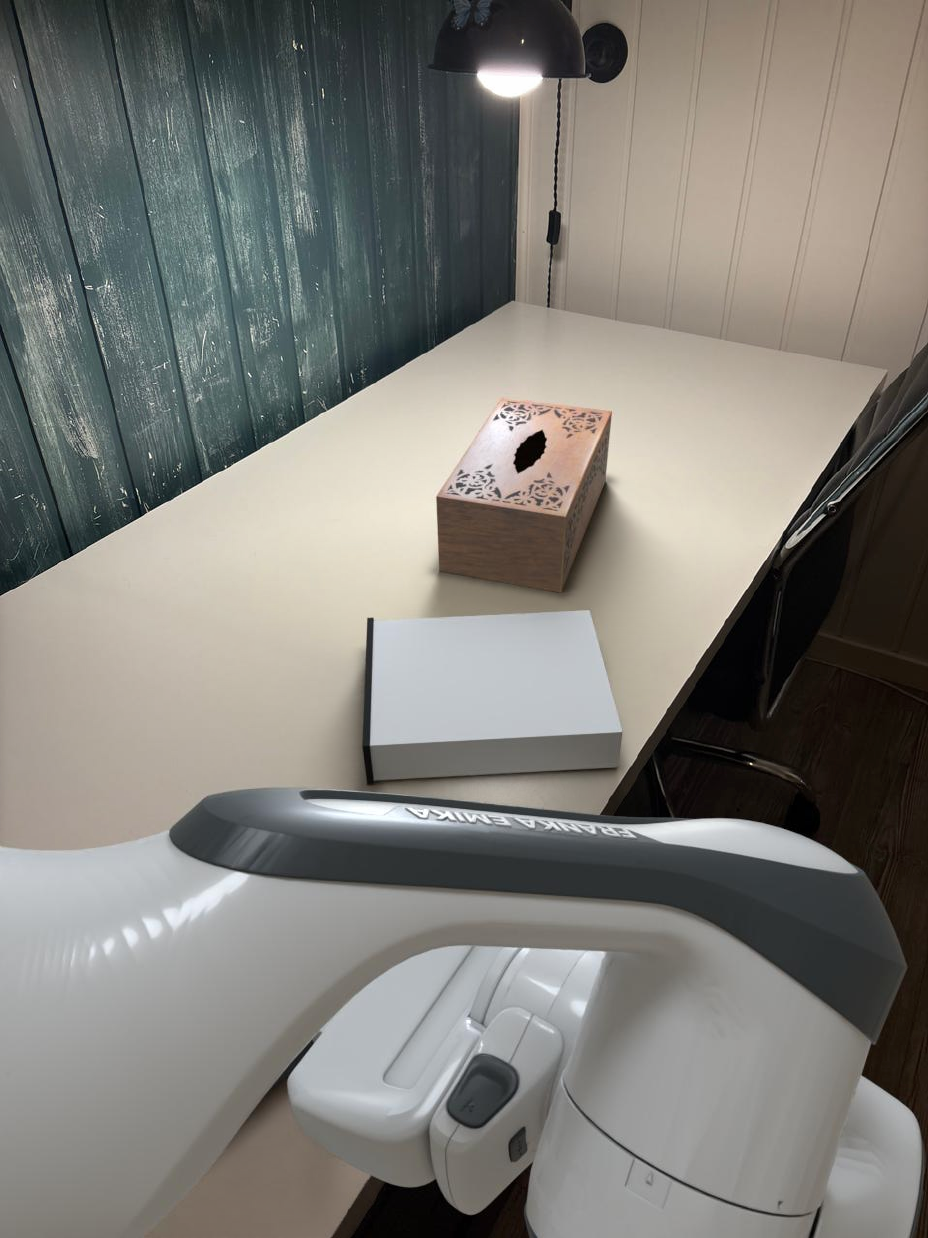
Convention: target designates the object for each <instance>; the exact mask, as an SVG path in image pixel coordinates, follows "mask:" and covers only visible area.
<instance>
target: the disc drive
mask: <svg viewBox="0 0 928 1238" xmlns="http://www.w3.org/2000/svg"><path fill="white" fill-rule="evenodd" d="M365 639H366V640H365V641H366V642H365V664H364V666H365V668H364V689H363V690H364V691H363V713H362V714H363V715H362V716H363V717H362V720H363V721H362V740H361V741H362V743H361V747H362V754H363V755H362V756H363V763H364V771H365V778H366V785H375V781H389V780H391V781H392V780H407V779H410V780H411V779H424V778H427V779H428V778H443V777H444V778H445V777H463V776H465V777H466V776H481V775H483V776H484V775H498V774H500V775H501V774H518V773H537V772H552V771H553V772H554V771H571V770H572V771H573V770H574V771H575V770H591V769H607V768H608V769H611V768H619V763H620V756H621V746H622V741H623V729H622V724H621V721H620V718H619V714H618V710H617V706H616V702H615V698H614V695H613V692H612V688H611V684H610V680H609V676H608V673H607V669H606V666H605V661H604V658H603V654H602V651H601V647H600V643H599V640H598V636H597V632H596V628H595V625H594V621H593V616H592V614H591V610H590V609H586V610H564V611H545V612H525V613H522V612H521V613H502V614H482V615H464V616H463V615H462V616H443V617H442V616H440V617H439V616H438V617H421V618H419V617H418V618H400V619H398V618H397V619H382V620H381V619H380V620H378V619H377V620H375V619H374V617H367V618H366V637H365Z"/></svg>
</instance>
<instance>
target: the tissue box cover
mask: <svg viewBox="0 0 928 1238" xmlns="http://www.w3.org/2000/svg"><path fill="white" fill-rule="evenodd" d="M612 414H613V411H612V410H606V409H605V410H603V409H596V408H589V407H581V406H573V405H566V404H557V403H550V402H542V401H534V400H527V399H526V400H525V399H517V398H511V397H502V396H501V398H500V399H499V401H498V402H497V404H496V405H495V407H494V408H493V410H492V411H491V413H490V414H489V416H488V418H486V421H485V422H484V423H483V425H482V427H481V428H480V430H479V431H478V432H477V434H476V436H475V437H474V439H473V440H472V442H471V443H470V445H469V446H468V447H467V449H466V450H465V452H464V454H463V455H462V457H461V458H460V460H459V462H458V463H457V464H456V465H455V467H454V469H453V470H452V471H451V473H450V475H449V477H447V479H446V481H445V482H444V484H443V485H442V487H441V489H440V490H439V491H438V493H437V495H436V496H435V499H436V502H435V503H436V524H437V525H436V526H437V550H438V554H437V555H438V571H439V572H443V573H449V574H453V575H459V576H465V577H471V578H476V579H482V580H487V581H493V582H498V583H503V584H504V583H505V584H510V585H515V586H522V587H527V588H533V589H538V590H544V591H548V592H555V593H562V591H563V589H564V586H565V583H566V582H567V579H568V576H569V574H570V571H571V568H572V566H573V564H574V561H575V558H576V556H577V553H578V551H579V549H580V546H581V544H582V541H583V539H584V536H585V533H586V531H587V528H588V525H589V524H590V521H591V518H592V516H593V514H594V511H595V509H596V505H597V503H598V501H599V498H600V496H601V493H602V491H603V488H604V486H605V483H606V480H607V469H608V468H607V467H608V457H609V447H610V437H611V426H612V425H611V424H612V416H613V415H612Z"/></svg>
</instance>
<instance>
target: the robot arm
mask: <svg viewBox="0 0 928 1238" xmlns="http://www.w3.org/2000/svg"><path fill="white" fill-rule="evenodd" d="M899 941H900V940H899V939H898V936H897V934H896V931H895V929H894V926H893V924H892V922H891V920H890V917H889V915H888V913H887V911H886V908H885V906H884V904H883V902H882V900H881V898H880V896H879V894H878V893H877V891H876V889H875V887H874V886H873V883H872V882H871V881H870V879H869V878H868V875H867V874H866V872H865V871H864V869H862V868H860V867H859V866H858V865H855V864H853V863H851V862H849V861H847V860H846V859H845V858H843V857H842V856H841V855H839V854H838V853H836V852H835V851H833V850H832V849H830V848H828V847H827V846H825V845H823V844H821V843H819V842H817V841H815V840H813V839H811V838H809V837H806V836H804V835H802V834H800V833H796V832H795V831H794V832H793V831H791V830H788V829H784V828H782V827H780V826H775V825H771V824H767V823H764V822H759V821H753V820H747V819H741V818H724V817H715V818H711V817H710V818H695V819H694V818H686V817H685V818H684V817H634V816H629V817H628V816H617V815H616V816H615V815H604V814H595V813H594V814H593V813H585V812H575V811H565V810H557V809H547V808H537V807H528V806H517V805H508V804H499V803H489V802H482V801H481V802H480V801H470V800H462V799H451V798H443V797H442V798H441V797H433V796H432V797H431V796H420V795H411V794H410V795H409V794H398V793H385V792H373V791H372V792H371V791H359V790H347V789H334V788H333V789H331V788H315V787H255V788H245V789H235V790H229V791H224V792H217V793H212V794H209V795H206V796H204V798H202V799H201V800H200V801H199V802H198V803H197V804H196V805H195V806H193V807H192V808H191V809H190V810H189V811H188V812H187V813H185V814H184V815H183V817H181V818H180V819H179V820H178V821H176V822H175V824H173V825H172V826H171V827H170V828H169V829H166V830H164V831H161V832H158V833H154V834H151V835H148V836H144V837H141V838H137V839H133V840H129V841H124V842H120V843H115V844H109V845H105V846H97V847H90V848H80V849H79V848H78V849H53V850H52V849H25V848H17V847H11V846H10V847H7V846H3V845H0V1238H144V1236H146V1235H147V1234H148V1233H150V1231H152V1230H154V1228H155V1227H156V1226H158V1224H160V1223H161V1222H162V1221H163V1220H164V1219H165V1218H167V1216H168V1215H170V1214H171V1212H172V1211H174V1210H175V1208H176V1207H177V1206H178V1205H179V1204H180V1203H181V1202H182V1201H183V1200H184V1199H185V1198H186V1197H187V1196H188V1195H189V1194H190V1193H191V1192H192V1190H193V1189H195V1187H196V1186H197V1185H198V1184H199V1183H200V1181H202V1180H203V1178H204V1177H205V1176H206V1174H207V1173H208V1172H209V1171H210V1170H211V1169H212V1167H213V1166H214V1165H215V1164H216V1163H217V1160H219V1158H220V1157H221V1156H222V1154H223V1153H224V1151H225V1150H226V1149H227V1147H228V1145H229V1144H230V1143H231V1142H232V1140H233V1139H234V1138H235V1136H236V1135H237V1133H238V1132H239V1130H240V1129H241V1128H242V1126H243V1125H244V1124H245V1122H247V1119H248V1118H249V1117H250V1116H251V1114H252V1113H253V1111H254V1110H255V1109H256V1108H257V1107H258V1105H259V1104H260V1102H261V1101H262V1099H263V1098H264V1097H265V1096H266V1094H268V1092H269V1091H268V1090H269V1089H270V1088H271V1087H272V1085H273V1084H274V1083H275V1082H276V1081H277V1079H278V1078H279V1077H280V1076H281V1074H282V1073H283V1072H284V1071H285V1069H286V1068H287V1067H288V1066H289V1064H290V1063H291V1062H292V1061H293V1060H294V1059H295V1058H296V1056H297V1055H298V1054H299V1053H300V1052H301V1051H302V1050H303V1049H304V1048H305V1046H306V1045H307V1044H308V1043H309V1042H310V1041H311V1040H313V1042H314V1044H313V1045H312V1047H311V1048H310V1049H309V1051H308V1052H307V1053H306V1055H305V1056H304V1057H303V1058H302V1060H301V1061H300V1062H299V1064H298V1065H297V1066H296V1067H295V1069H294V1070H293V1071H292V1073H291V1074H290V1075H289V1076H288V1077H287V1080H286V1087H287V1088H286V1089H287V1096H288V1097H287V1098H288V1102H289V1107H290V1111H291V1115H292V1118H293V1119H294V1121H295V1124H296V1125H297V1127H298V1129H299V1130H300V1132H301V1133H302V1134H303V1135H304V1136H305V1137H306V1138H307V1139H308V1140H309V1141H311V1142H312V1143H313V1144H315V1145H317V1146H318V1147H319V1148H321V1149H322V1150H323V1151H326V1152H327V1153H329V1154H330V1155H332V1156H334V1157H335V1158H337V1159H339V1160H340V1161H342V1162H344V1163H346V1164H348V1165H350V1166H351V1167H353V1168H355V1169H357V1170H359V1171H361V1172H363V1173H365V1174H368V1175H369V1176H371V1177H373V1178H376V1179H378V1180H380V1181H383V1182H385V1183H388V1184H390V1185H393V1186H396V1187H397V1186H398V1187H403V1188H418V1187H422V1186H426V1185H428V1184H430V1183H431V1182H433V1181H434V1180H436V1183H437V1185H438V1187H439V1190H440V1192H441V1193H442V1195H443V1198H444V1199H445V1200H446V1201H447V1202H448V1204H449V1205H451V1206H452V1207H453V1208H455V1209H456V1210H458V1211H459V1212H461V1213H462V1214H465V1215H468V1216H473V1215H476V1214H478V1213H481V1212H482V1211H483V1210H484V1209H486V1208H487V1207H488V1206H489V1205H490V1204H491V1203H493V1201H495V1199H496V1198H497V1197H498V1196H499V1195H500V1194H501V1193H503V1192H504V1191H505V1190H506V1189H507V1187H508V1186H510V1184H512V1182H514V1180H515V1179H517V1177H519V1175H521V1174H522V1173H523V1172H524V1171H525V1170H526V1169H527V1168H528V1167H529V1166H531V1168H530V1173H529V1174H530V1175H529V1178H528V1187H527V1196H526V1202H525V1204H524V1207H523V1216H524V1221H525V1225H526V1229H527V1233H528V1236H529V1237H528V1238H915V1237H916V1236H915V1235H916V1233H917V1227H918V1223H919V1219H920V1215H921V1209H922V1203H923V1200H924V1199H923V1198H924V1190H923V1189H924V1177H925V1176H924V1175H925V1172H926V1151H925V1144H924V1141H923V1138H922V1132H921V1128H920V1125H919V1122H918V1119H917V1118H916V1116H915V1114H914V1112H912V1110H911V1109H910V1108H909V1107H907V1106H906V1105H905V1104H903V1103H902V1102H901V1101H900V1100H899V1099H897V1097H895V1096H893V1095H891V1094H890V1093H889V1092H888V1091H886V1090H884V1088H882V1087H880V1086H879V1085H877V1084H875V1083H874V1082H873V1081H871V1080H870V1079H868V1078H867V1077H866V1076H863V1075H862V1074H863V1072H864V1071H863V1070H864V1067H865V1065H866V1061H867V1057H868V1055H869V1051H870V1048H871V1045H874V1046H876V1045H877V1042H878V1040H879V1037H880V1034H881V1033H882V1029H883V1027H884V1025H885V1022H886V1019H887V1017H888V1016H889V1012H890V1010H891V1008H892V1006H893V1003H894V1001H895V998H896V996H897V994H898V991H899V989H900V986H901V984H902V981H903V979H904V977H905V975H906V972H907V969H908V965H907V962H906V958H905V955H904V953H903V950H902V947H901V944H900V942H899ZM531 1164H532V1165H531Z"/></svg>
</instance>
